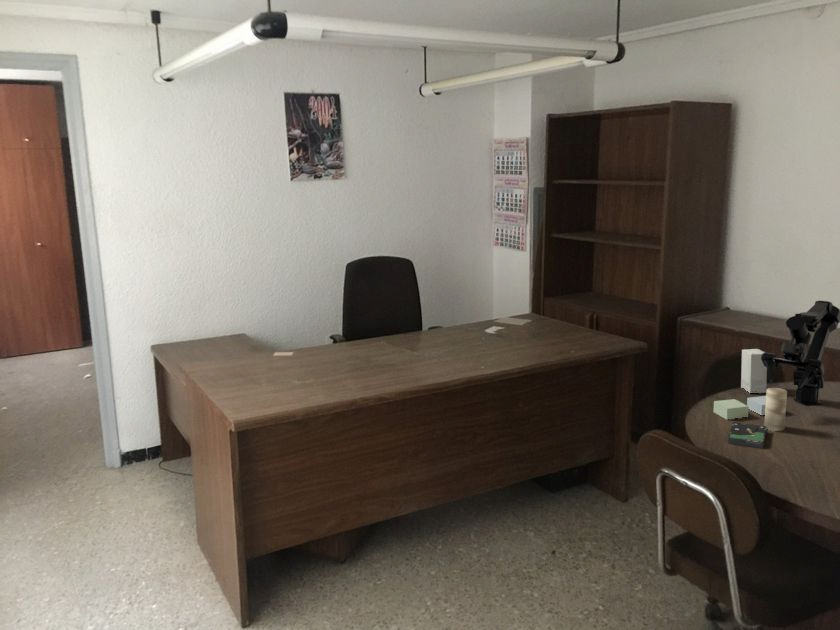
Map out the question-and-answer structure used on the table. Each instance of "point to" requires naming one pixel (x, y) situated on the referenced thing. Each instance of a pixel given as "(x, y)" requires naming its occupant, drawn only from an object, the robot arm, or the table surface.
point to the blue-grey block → (757, 404)
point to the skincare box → (753, 371)
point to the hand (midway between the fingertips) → (784, 384)
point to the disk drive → (747, 435)
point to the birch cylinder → (775, 409)
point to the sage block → (730, 409)
